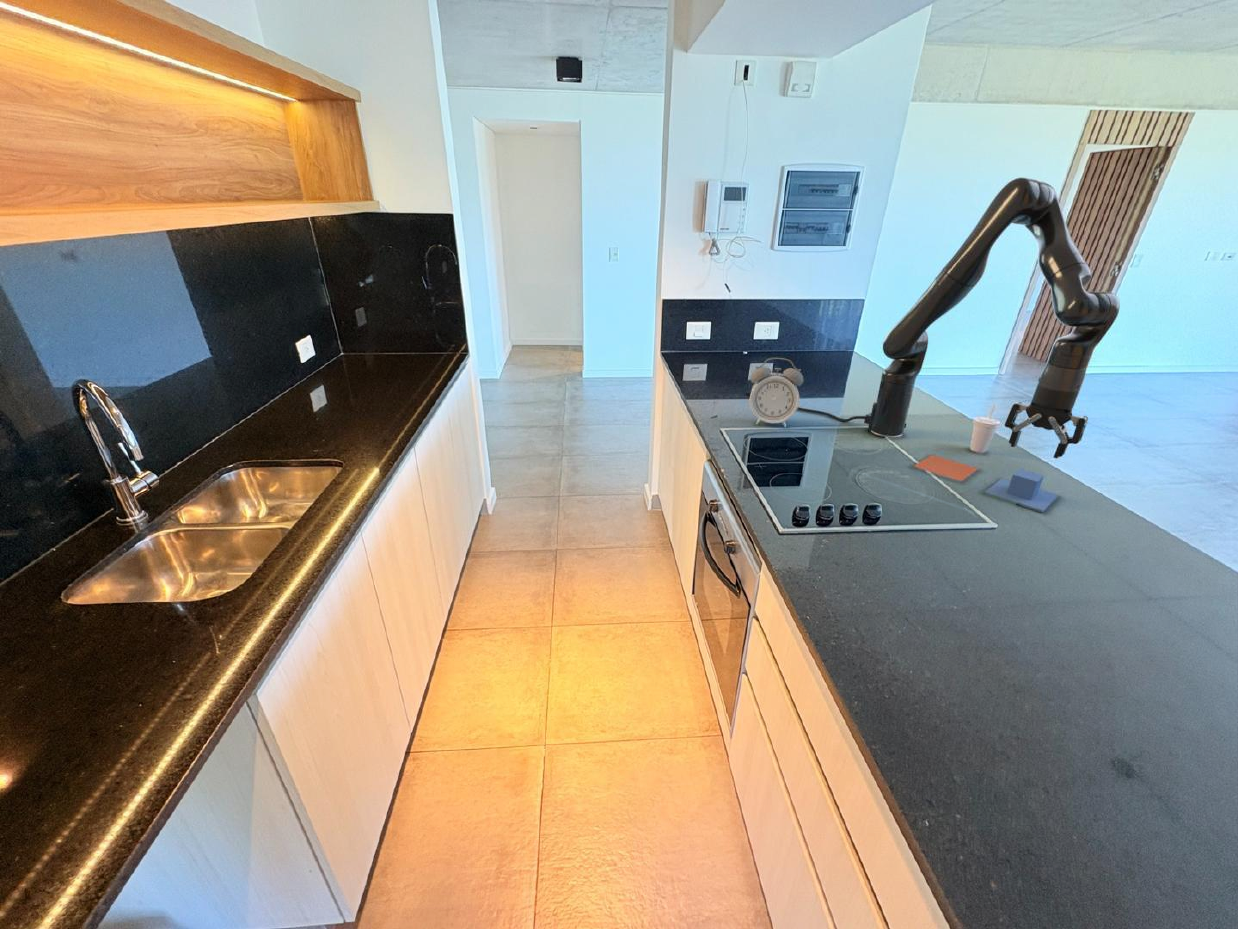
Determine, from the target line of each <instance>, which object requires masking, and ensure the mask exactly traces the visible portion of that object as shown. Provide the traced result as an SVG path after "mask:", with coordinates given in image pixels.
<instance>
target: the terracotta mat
mask: <svg viewBox="0 0 1238 929" xmlns="http://www.w3.org/2000/svg"><path fill="white" fill-rule="evenodd" d="M913 467H914V468H918V469H921V470H924V471H926V472H929V473H932V474H937V475H938V476H939V475H940V476H943V477H946V478H949V479H952V480H955V481H959V482H963V481H964V480H965V479H967V478H968V477H969V476H971V475H973V474H974V473H975V472H977V471H979V468H978V467H975V466H972V465H969V464H966V463H962V462H958V461H954V460H951V459H948V458H944V457H940V456H937V455H934V454H931V455H929V456H927V457H926V458H924V459H922V460H921V461H919V462H918V463H916V464H914V465H913Z"/></svg>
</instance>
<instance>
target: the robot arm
mask: <svg viewBox="0 0 1238 929" xmlns="http://www.w3.org/2000/svg"><path fill="white" fill-rule="evenodd" d="M1012 224H1015V225H1019V226H1023V227H1025V228H1026V229H1027V230H1028V231H1029V232H1030V233H1031V234H1032V236H1033V237H1034V239H1035V241H1036V244H1037V264H1038V267H1039V270H1040V272H1041V274H1042V276H1043V278H1044V280H1045V281H1046V284H1047V285H1048V287H1049V288H1050V293H1051V302H1052V308H1053V313H1054V316H1055V318H1056V319H1057V320H1058V321H1059V322H1060V323H1061V324H1062V325H1064V326H1066V327H1071V328H1072V327H1073V330H1072V331H1071V332H1070V333H1069V334H1066V335H1064V336H1060V337H1058V338H1056V340H1055V341H1054V342H1053V344H1052V347H1051V350H1050V352H1049V355H1048V358H1047V361H1046V364H1045V366H1044V367H1043V369H1042V371H1041V373H1040V376H1039V378H1038V380H1037V384H1036V387H1035V390H1034V393H1033V396H1032V399H1031V402H1030V404H1029V405H1028V404H1024V403H1022V402H1021V401H1017V402H1015V403H1013V404H1012V405H1011V408H1010V410H1009V413H1008V415H1007V417H1006V420H1005V422H1004V427H1005V428H1008V429H1010V430H1011V434H1010V437H1009V440H1008V444H1010V447H1012V448H1016V447H1017V445H1018V442H1019V440H1020V438H1021V434H1022V429H1024V428H1026V427H1028V426H1030V425H1032V426H1033V427H1034V428H1041V429H1044V430H1047V431H1054V433H1055V435H1056V436H1057V438H1058V440H1059V442H1058V445H1057V447H1056V450H1055V452H1054V454H1053V457H1052V458H1053V459H1059V458H1062V457H1063V456H1064V455H1065V453H1066V451H1067V448H1068V446H1069V444H1072V445H1077V444H1078V443H1080V441H1082V439H1083V435H1084V433H1085V430H1086V426H1087V423H1088V421H1089V417H1088V416H1087V415H1083V416H1079V415H1073V413H1072V412H1073V408H1074V406H1075V404H1076V401H1077V399H1078V396H1079V394H1080V390H1081V388H1082V386H1083V383H1084V380H1085V378H1086V372H1087V369H1088V367H1089V364H1090V362H1091V358H1092V356H1093V353H1094V351H1095V349H1096V347H1097V346H1098V345H1099V344H1100V342H1101V341H1102V340H1103V338H1104V337H1105V336H1106V334H1107V333H1108V331H1109V330H1110V329H1111V327H1112V326H1113V324H1114V323H1115V322H1116V320H1117V318H1118V316H1119V312H1120V309H1121V308H1120V307H1121V306H1120V305H1121V303H1120V300H1119V297H1118V296H1117V294H1115V293H1114V292H1111V291H1106V290H1105V291H1099V290H1098V291H1087V290H1086V289H1085V288H1084V287H1086V286H1088V284H1089V283H1090V282H1091V280H1092V277H1093V274H1092V270H1091V269H1090V266H1089V265H1088V263H1087V262H1086V260H1085V258H1084V257H1083V255H1082V253H1081V252H1080V250H1079V248H1078V246H1077V245H1076V243H1075V241H1074V239H1073V238H1072V235H1071V233H1070V230H1069V228H1068V225H1067V222H1066V220H1065V217H1064V214H1063V211H1062V207H1061V205H1060V200H1059V198H1058V194H1057V192H1056V190H1055V188H1054V187H1053V186H1052V185H1051V184H1049V183H1047V182H1045V181H1041V180H1037V179H1033V178H1028V177H1016V178H1014V179H1012V180H1010V181H1008V182H1007V183H1006V184H1004V186H1003V187H1002V188H1001V189H1000V190H999V191H998V192H997V194H995V196H994V198H993V199H992V200H991V201H990V203H989V204H988V206H987V207H986V209H985V211H984V212H983V214H982V215H981V216H980V218H979V220H978V221H977V223H976V224H975V226H974V228H973V229H972V230H971V231H970V233H969V234H968V235H967V237H966V238H965V239H964V240H963V242H962V244H960V246H959V247H958V249H957V250H956V251H955V253H954V254H953V255H952V257H951V258H949V260H948V261H947V263H946V264H945V265H944V266H943V267H942V268H941V270H940V271H939V272H938V273H937V275H936V276H935V277H934V279H933V280H932V281H931V282H930V284H929V285H928V287H927V288H926V289H925V290H924V292H922V294H921V295H920V297H919V298H918V299H917V300H916V302H915V303H914V304H913V305H912V307H911V308H910V309H909V310H908V312H906V313H905V315H903V317H902V318H901V319H900V320H899V321H898V322H897V323H896V324H895V325H894V326H893V327H892V328H891V329H890V330H889V331H888V333H887V334H886V335H885V337H884V339H883V342H882V351H883V354H884V356H885V357H887V358H888V359H889V360H892V361H891V362H890V363H889V364H888V366H887V367H885V368H884V369H883V370H882V374H881V377H880V383H879V387H878V393H877V397H876V401H874V402H873V403H872V408H871V412H869V413H867V414H865V415H855V416H851V417H849V418H841V417H838V416H836V415H834V414H832V413H830V412H826V411H822V410H817V409H811V408H803V407H799V406H798V408H797V410H796V411H801V412H807V413H813V414H819V415H824V416H826V417H830V418H832V419H835V420H836V421H839V422H843V423H848V422H851V421H853V420H864V421H863V423H864V424H867V425H868V426H867V432H869V433H871V434H872V435H874V436H877V437H880V438H883V439H884V438H900V437H902V436H904V430H905V429H906V427H907V423H906V421H907V418H908V413H909V409H910V406H911V401H912V397H913V392H914V388H915V384H916V379H917V377H918V376H919V375H920V373H921V371H922V368H923V365H924V361H925V358H926V355H927V351H928V346H929V335H928V332H927V330H928V329H929V328H930V327H931V325H932V324H934V323H935V322H936V321H937V320H939V319H940V318H941V317H943V316H944V315H946V314H947V313H948V312H950V311H951V310H953V309H954V308H956V307H957V305H959V304H960V303H961V302H963V301H964V299H965V298H966V297H967V296H968V295H969V294H970V293H971V291H973V289H974V288H975V287H976V286H977V284H979V282H980V281H981V280H982V278H983V276H984V274H985V271H986V268H987V265H988V260H989V256H990V253H991V250H992V249H993V246H994V244H995V243H996V242H997V240H998V239H999V238H1000V237H1001V236H1002V234H1003V233H1004V232H1005V231H1006V229H1008V227H1009V226H1010V225H1012ZM746 394H747V395H749V396H750V395H751V391H746ZM1024 411H1025V413H1026V415H1027V419H1025V420H1023V421H1021V422H1020V423H1019V424H1018V423H1016V421H1017V420H1016V419H1017V417H1018V415H1019V414H1021V413H1022V412H1024ZM1070 421H1071V422H1072V425H1073V426H1074V427H1075V429H1074V432H1073V435H1072V436H1070V435H1069V432H1068V428H1067V427H1066V425H1065V424H1066V423H1069V422H1070Z"/></svg>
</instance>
